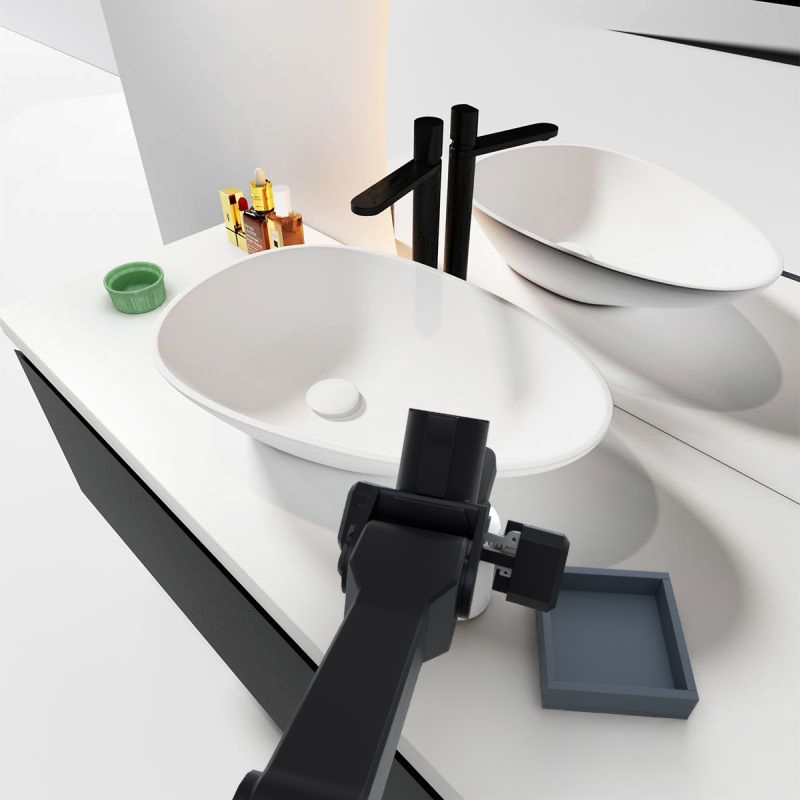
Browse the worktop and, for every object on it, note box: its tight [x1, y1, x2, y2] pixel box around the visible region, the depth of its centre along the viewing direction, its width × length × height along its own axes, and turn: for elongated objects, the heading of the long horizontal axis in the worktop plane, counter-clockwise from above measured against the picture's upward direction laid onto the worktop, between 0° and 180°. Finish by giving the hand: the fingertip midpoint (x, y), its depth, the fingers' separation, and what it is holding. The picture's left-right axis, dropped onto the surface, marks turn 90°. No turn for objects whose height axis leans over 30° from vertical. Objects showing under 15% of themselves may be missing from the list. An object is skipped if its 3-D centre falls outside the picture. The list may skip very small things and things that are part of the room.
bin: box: [534, 565, 700, 720], centre depth 65 cm, size 13×13×4 cm
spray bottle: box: [457, 505, 502, 621], centre depth 64 cm, size 7×7×18 cm
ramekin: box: [102, 261, 167, 314], centre depth 109 cm, size 9×9×4 cm
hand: (465, 533), depth 66 cm, fingers closed on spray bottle, 7 cm apart
